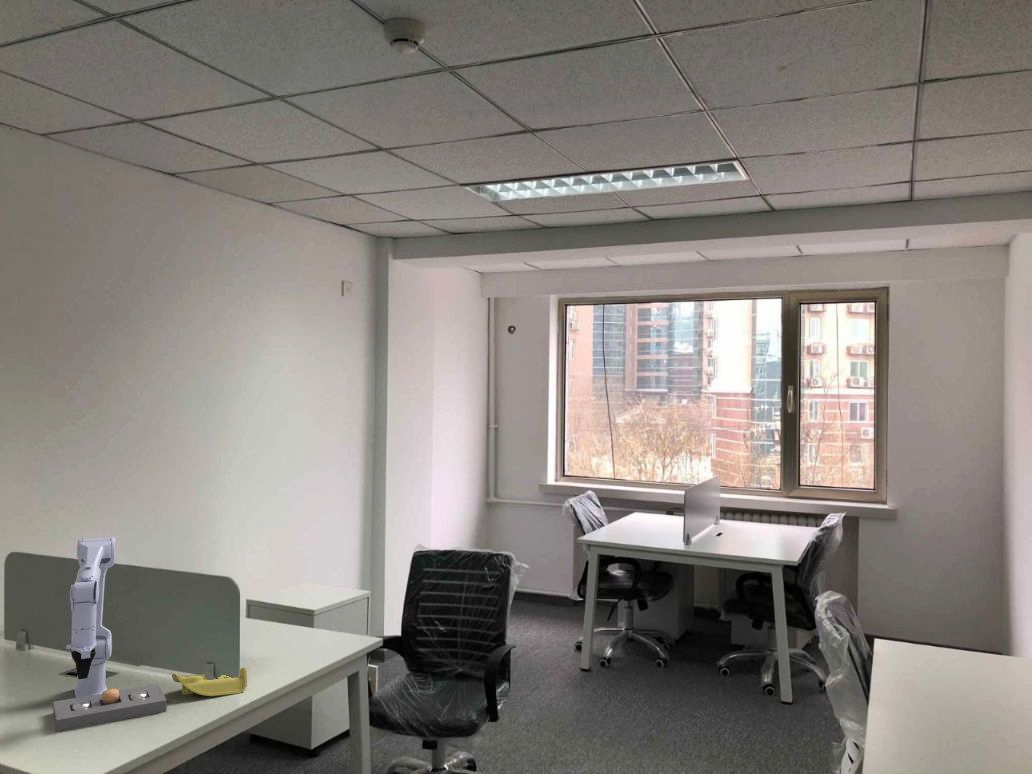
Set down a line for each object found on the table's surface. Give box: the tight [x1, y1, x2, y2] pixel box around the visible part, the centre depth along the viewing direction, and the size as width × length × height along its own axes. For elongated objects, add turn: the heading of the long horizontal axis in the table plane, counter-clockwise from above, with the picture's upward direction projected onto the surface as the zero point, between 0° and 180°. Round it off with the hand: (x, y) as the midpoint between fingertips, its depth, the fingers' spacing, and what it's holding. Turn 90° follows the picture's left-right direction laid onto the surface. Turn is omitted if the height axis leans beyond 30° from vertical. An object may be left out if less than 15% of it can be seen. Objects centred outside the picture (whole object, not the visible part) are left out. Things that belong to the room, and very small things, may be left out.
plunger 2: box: [131, 692, 147, 700], centre depth 220 cm, size 4×4×2 cm
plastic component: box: [171, 666, 248, 697], centre depth 232 cm, size 20×7×10 cm
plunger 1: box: [72, 701, 90, 711], centre depth 212 cm, size 4×4×2 cm
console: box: [52, 683, 168, 732], centre depth 216 cm, size 14×26×3 cm, turn 123°
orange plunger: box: [102, 688, 120, 703], centre depth 216 cm, size 4×4×2 cm
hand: (82, 678), depth 212 cm, fingers closed
